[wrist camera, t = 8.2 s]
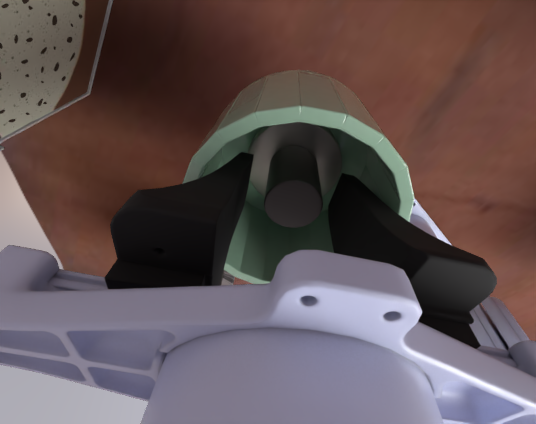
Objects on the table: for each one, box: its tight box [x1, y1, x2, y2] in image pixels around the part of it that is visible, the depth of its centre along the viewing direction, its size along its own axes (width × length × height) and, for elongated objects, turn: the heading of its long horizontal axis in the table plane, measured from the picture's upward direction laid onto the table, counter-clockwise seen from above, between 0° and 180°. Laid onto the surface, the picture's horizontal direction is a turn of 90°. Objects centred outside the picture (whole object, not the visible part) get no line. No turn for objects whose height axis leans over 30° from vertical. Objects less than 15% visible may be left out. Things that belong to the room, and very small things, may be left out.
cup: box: [182, 70, 414, 284], centre depth 13 cm, size 9×9×6 cm
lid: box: [248, 122, 342, 228], centre depth 13 cm, size 5×5×4 cm
